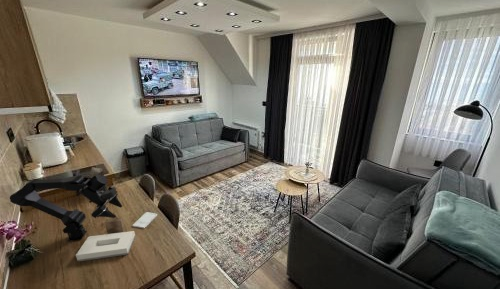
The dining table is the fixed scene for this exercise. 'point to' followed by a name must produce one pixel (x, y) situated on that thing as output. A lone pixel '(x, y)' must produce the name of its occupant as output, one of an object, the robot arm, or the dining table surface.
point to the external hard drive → (144, 220)
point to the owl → (99, 172)
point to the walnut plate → (115, 225)
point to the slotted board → (106, 246)
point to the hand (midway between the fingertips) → (118, 211)
